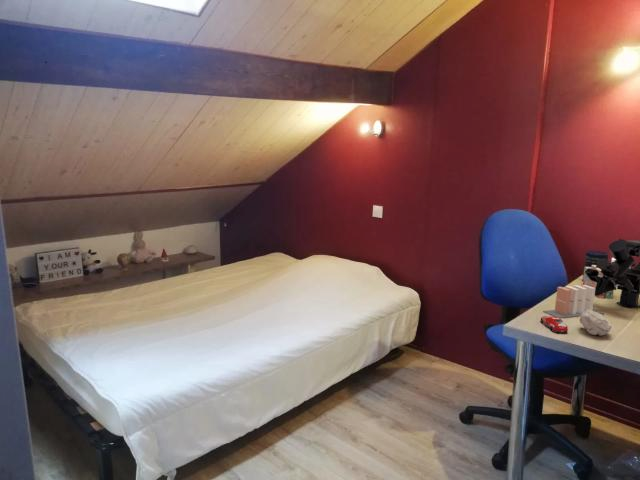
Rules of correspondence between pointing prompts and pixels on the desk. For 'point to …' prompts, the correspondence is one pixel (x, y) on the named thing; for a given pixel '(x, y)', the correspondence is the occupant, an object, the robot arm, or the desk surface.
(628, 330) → the desk surface
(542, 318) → the race car
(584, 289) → the domino
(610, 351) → the desk surface
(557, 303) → the domino
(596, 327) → the fossil replica
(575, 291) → the domino
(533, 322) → the desk surface
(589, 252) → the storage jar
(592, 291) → the domino
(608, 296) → the stack of blocks
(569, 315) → the domino mat
